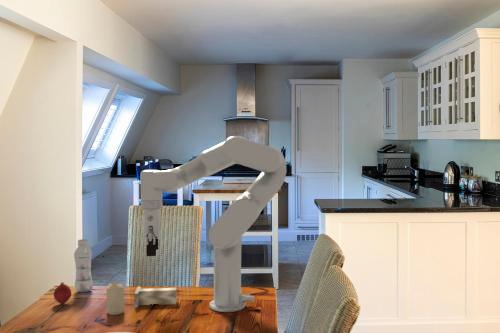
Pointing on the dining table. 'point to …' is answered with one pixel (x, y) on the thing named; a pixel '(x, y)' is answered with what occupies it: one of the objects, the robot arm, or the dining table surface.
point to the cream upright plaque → (155, 296)
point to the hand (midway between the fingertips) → (152, 252)
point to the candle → (115, 298)
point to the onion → (62, 293)
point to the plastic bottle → (83, 267)
